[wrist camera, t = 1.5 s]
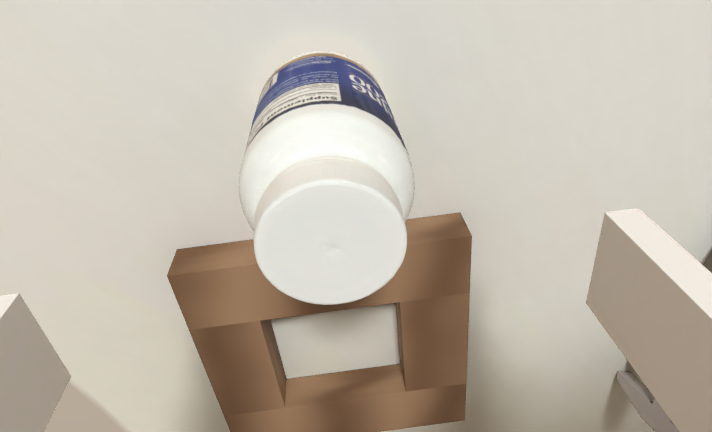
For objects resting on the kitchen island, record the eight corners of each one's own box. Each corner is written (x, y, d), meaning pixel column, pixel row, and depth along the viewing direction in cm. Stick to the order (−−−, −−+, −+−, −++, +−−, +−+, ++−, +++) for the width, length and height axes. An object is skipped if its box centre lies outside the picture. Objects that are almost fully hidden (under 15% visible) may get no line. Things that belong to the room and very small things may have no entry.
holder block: (460, 212, 24) (471, 236, 22) (456, 392, 32) (464, 420, 30) (176, 249, 24) (167, 275, 22) (242, 421, 31) (238, 450, 30)
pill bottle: (401, 143, 22) (458, 288, 14) (291, 185, 22) (282, 347, 14) (359, 25, 19) (399, 118, 11) (235, 77, 20) (182, 202, 11)
